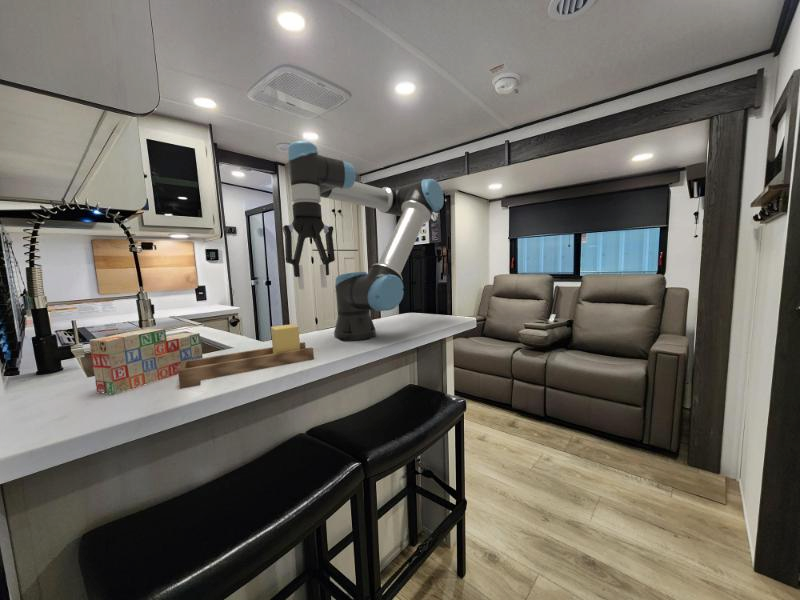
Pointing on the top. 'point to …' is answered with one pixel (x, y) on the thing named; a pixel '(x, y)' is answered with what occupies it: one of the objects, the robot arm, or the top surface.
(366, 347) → the top surface
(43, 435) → the top surface
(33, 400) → the top surface
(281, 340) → the block
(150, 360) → the stack of blocks
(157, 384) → the top surface
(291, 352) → the chute
